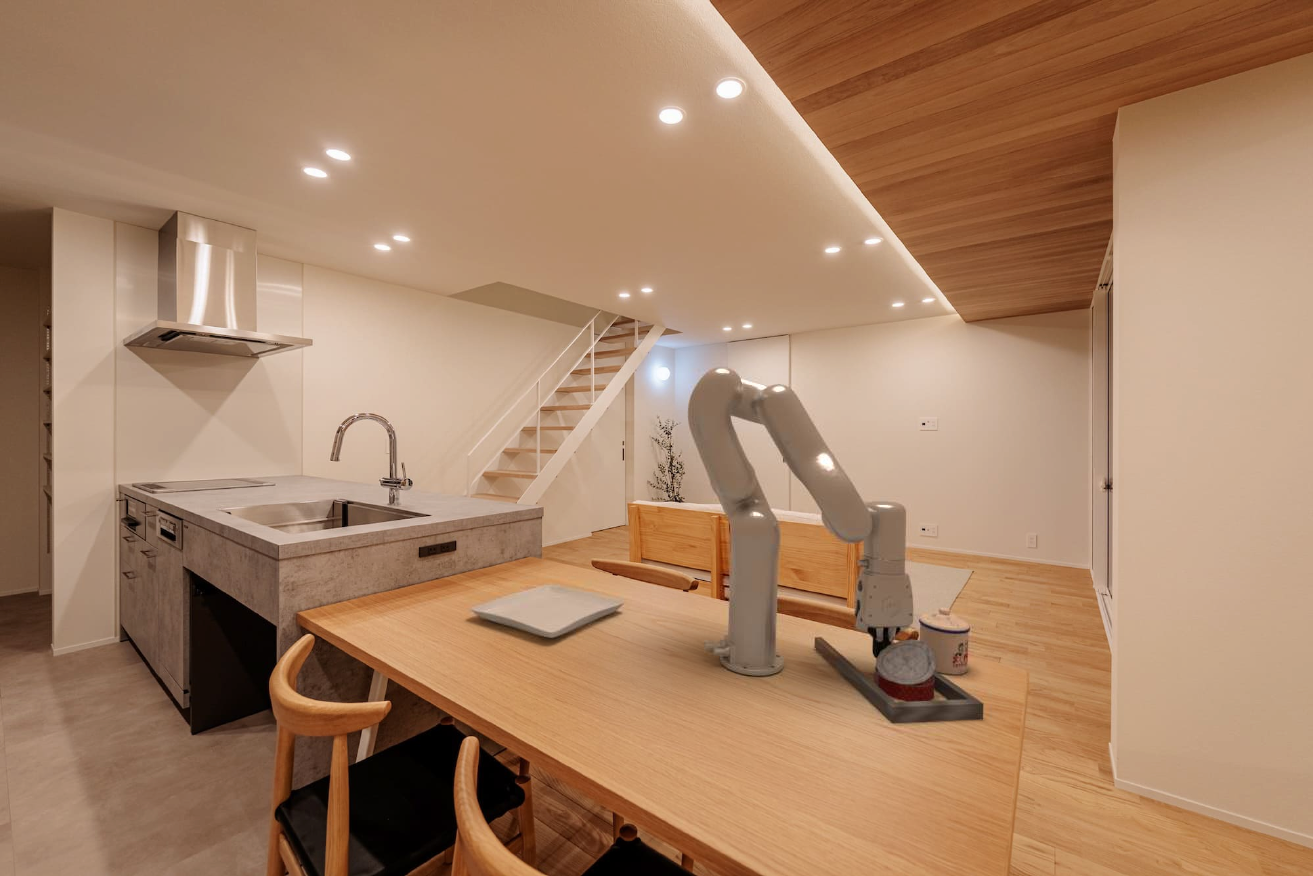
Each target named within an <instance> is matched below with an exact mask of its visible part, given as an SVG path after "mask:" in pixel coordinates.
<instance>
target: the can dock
mask: <svg viewBox="0 0 1313 876" xmlns="http://www.w3.org/2000/svg"><path fill="white" fill-rule="evenodd" d="M894 643H895V642H894V641H892V642H891V644H894ZM814 648H816V650H818V652H820V654H822V655H821V657H823V656H824V657H823V659H825V658H826V659H825V661H827V660H828V661H829V662H830V663H829V662H828V661H827V662H828V663H829V664H830V665H831V664H832V665H833V666H834V667H835V668H836V669H837V670H838V671H839V672H840V673H841V674H840V673H839V672H838V671H837V670H836V669H835V668H834V667H833V666H832V665H831V666H832V667H833V668H834V669H835V670H836V671H837V672H838V673H839V674H840V675H841V676H842V677H843V678H844V679H846V680H847V681H848V682H849V683H850V684H851V685H852V686H853V687H854V688H855V689H856V690H857V691H858V692H859V693H860V692H861V693H860V694H862V695H863V697H865V699H867V701H869V703H871V705H873V706H874V707H875V708H876V709H877V710H878V711H879V712H880V713H881V714H882V715H883V716H884V717H885V718H887V720H888V721H889V722H890V723H892V724H895V723H912V722H914V723H916V722H917V723H918V722H939V721H940V722H941V721H960V720H963V721H964V720H982V719H984V703H983V702H982V701H981V700H979V699H978V698H976V697H975V696H973V695H972V694H970V693H969V692H967V691H965V690H964V689H963V688H961V687H960V686H959V685H957V684H956V683H955V682H953V681H951V680H950V679H948V678H947V677H945V676H944V675H942V673H939V672H937V671H935V670H934V672H933V674H932V676H933V677H934V691H936V692H938V693H939V694H940V695H942V696H943V697H944V698H946V699H944V700H931V701H913V702H906V701H895V699H894V698H892V697H889V696H888V695H887V694H886V693H885V692H884V691H883V690H881V689H880V688H879V687H878V686H877V685H876V684H875V682H873V680H871V679H870V678H869V677H868V676H867V675H865V674H864V673H863V672H862V671H861V670H860V669H858V668H857V667H856V666H855V665H854V664H853V663H851V661H849V659H848V658H846V657H845V656H844V655H842V654H841V653H840V652H839V651H838V650H837V649H836V648H835V647H834V646H832V645H831V644H830V643H829V642H828V641H827V640H825V639H824V638H823V637H822V636H819V637H817V636H814ZM816 650H815V651H816ZM818 652H817V653H818ZM820 654H819V655H820Z"/></svg>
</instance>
